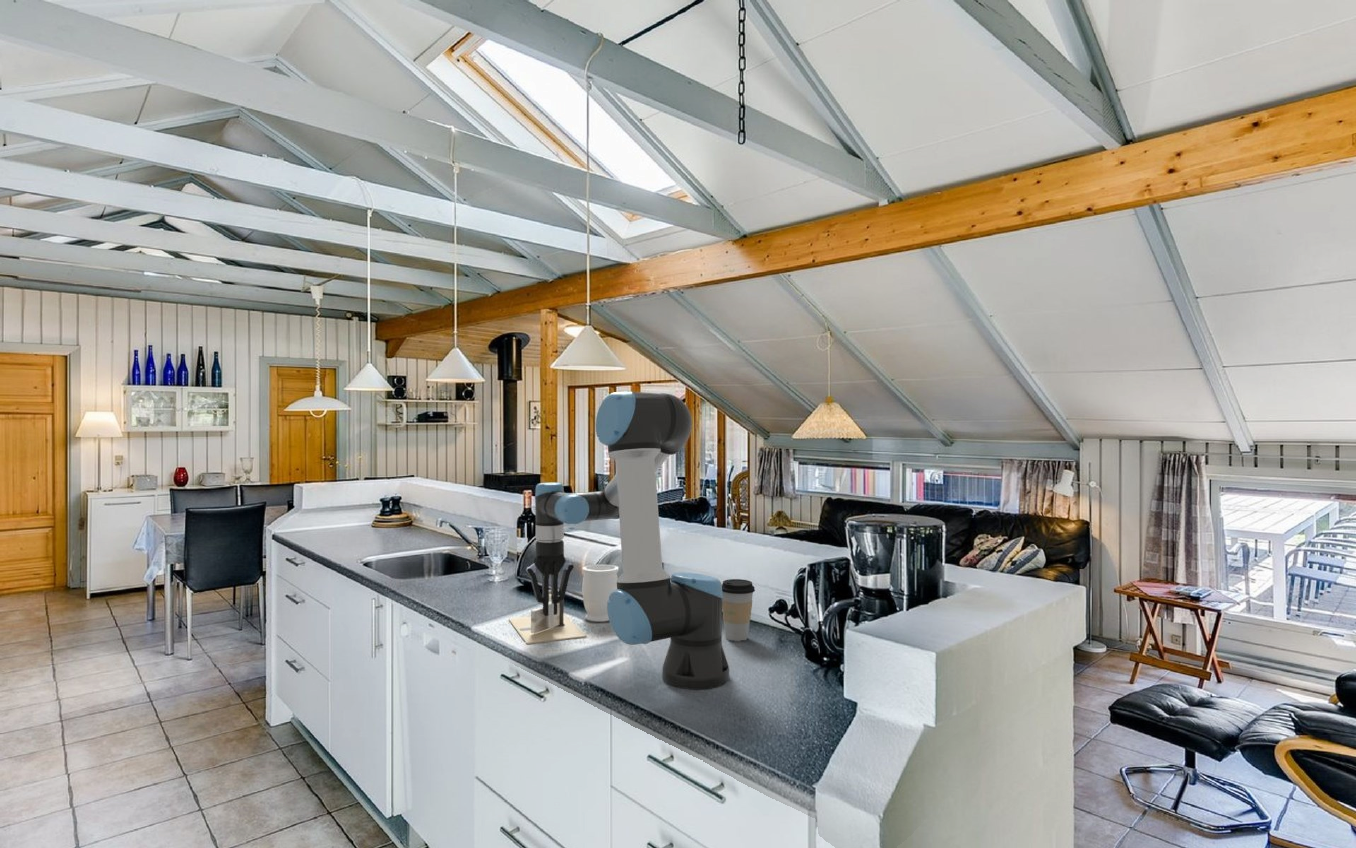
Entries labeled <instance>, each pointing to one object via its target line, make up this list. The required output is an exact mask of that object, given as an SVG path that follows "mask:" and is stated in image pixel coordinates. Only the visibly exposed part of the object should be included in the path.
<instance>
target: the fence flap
mask: <svg viewBox="0 0 1356 848" xmlns="http://www.w3.org/2000/svg"><path fill="white" fill-rule="evenodd" d="M564 605H565V598H564V599H563V600H560V601H559V602H558V603H557V615H554V627H555V626H557V625H560V624H563V620H564V615H565V614H564V613H565V612H564V609H565V608H564V607H565V606H564ZM530 617H531V633H534V634H535V633H537V632H540V631H543V630H546V629H549V628H548V627H547V616H544V614H543V606H541V607H538V608H535V609H532V610H531V611H530Z"/></svg>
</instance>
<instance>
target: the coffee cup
mask: <svg viewBox="0 0 1356 848" xmlns="http://www.w3.org/2000/svg"><path fill="white" fill-rule="evenodd" d="M721 584H722V596H723V600H722V621H723V624H724V625H723V626H724V636H725V639H726V638H727V639H726V640H728V641H730V640H734V641H733V642H741V641H740V640H745V641H747V640H748V639H747V638H749V631H750V630H749V629H750V622H751V615H752V609H753V608H752V607H753V595H754V592H755V591H756V589H755V586H754V585H753V582H752V581H751V580H747V579H742V578H741V579H740V578H733V579H731V578H730V579H729V578H728V579H726V580H723V582H722V583H721ZM746 639H747V640H746Z"/></svg>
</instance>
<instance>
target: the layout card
mask: <svg viewBox="0 0 1356 848" xmlns="http://www.w3.org/2000/svg"><path fill="white" fill-rule="evenodd" d="M508 621H509V623H510V624H511V625H512V626H513V628H514V630H515V631H516V632H517V633H518V635H519V636H520V637H521V639H522V640H523V641H524V642H525V643H524V644H526V645H532V644H540V643H541V644H542V643H550V642H558V641H565V640H566V641H567V640H572V639H573V640H575V639H581V638H582V639H583V638H587V634H585V633H584V632H583V631H582V630H581V629H580V628H579V627H578V626H576V624H575V623H574V622H573V621H572V620H571V619H570V618H568V616H567V615H566V614H564V620H563V623H564V624H565V625H564V626H555V627H554V628H551V629H546V630H543V631H540V632H537V633H535V634H534V633H531V616H524V617H523V616H522V617H515V618H514V617H513V618H508Z"/></svg>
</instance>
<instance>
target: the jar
mask: <svg viewBox="0 0 1356 848" xmlns="http://www.w3.org/2000/svg"><path fill="white" fill-rule="evenodd" d="M619 568H620V567H619V566H617V565H613V564H601V563H600V564H598V563H597V564H589V565H585V566H583V567H582V572H583V573H584V574H583V577H582V584H581V593H582V599H583V606H584V610H585V611H586V614H585V616H584V618H585V619H586V620H587V621H589V622H596V623H597V622H598V623H600V622H601V623H602V622H604V623H605V622H610V621H609V618H608V613H607V602H608V600H609V596H610V594H611V593H612V592H614V591H615V590H617V579H618V578H619V577H618V572H619V570H620V569H619Z"/></svg>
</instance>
